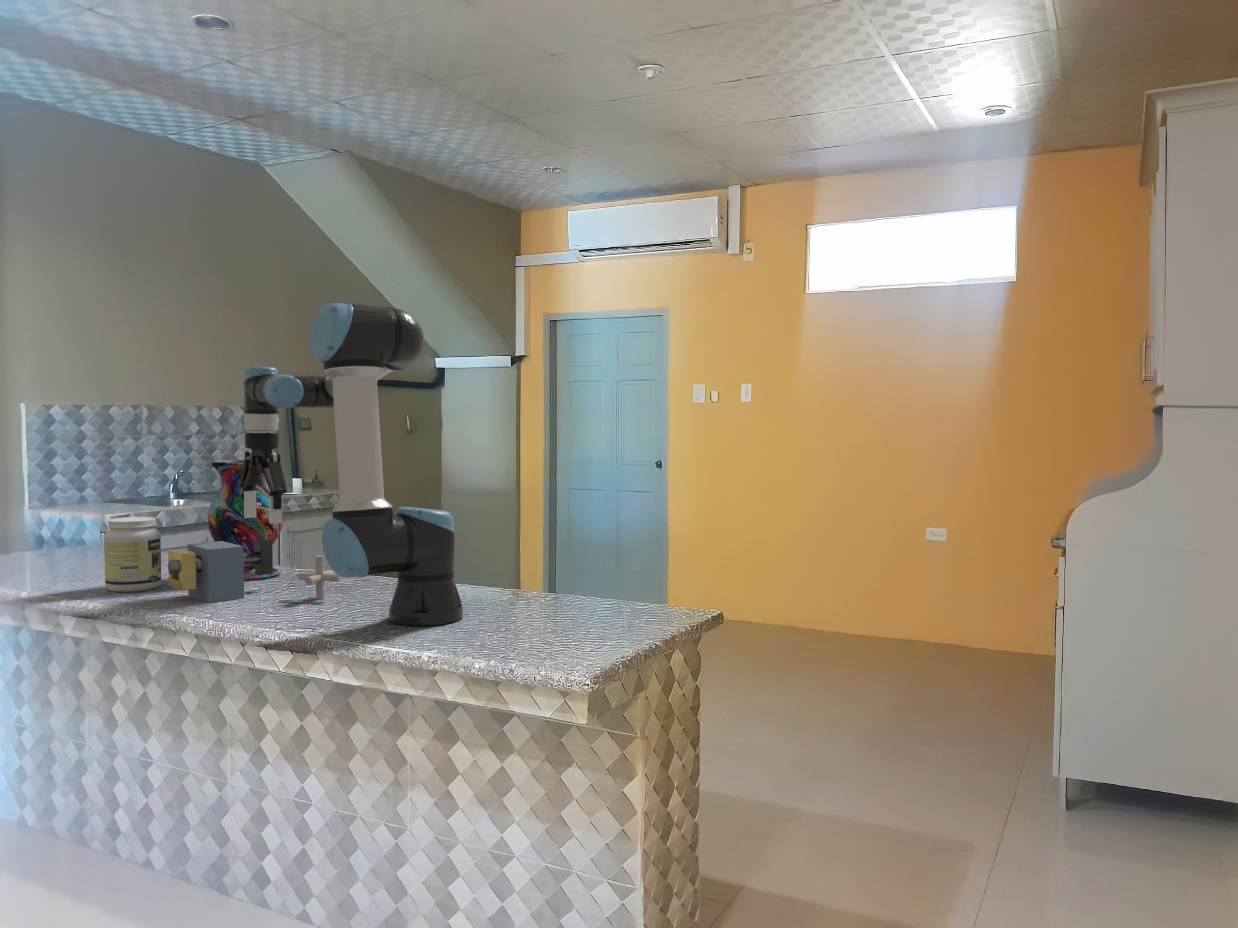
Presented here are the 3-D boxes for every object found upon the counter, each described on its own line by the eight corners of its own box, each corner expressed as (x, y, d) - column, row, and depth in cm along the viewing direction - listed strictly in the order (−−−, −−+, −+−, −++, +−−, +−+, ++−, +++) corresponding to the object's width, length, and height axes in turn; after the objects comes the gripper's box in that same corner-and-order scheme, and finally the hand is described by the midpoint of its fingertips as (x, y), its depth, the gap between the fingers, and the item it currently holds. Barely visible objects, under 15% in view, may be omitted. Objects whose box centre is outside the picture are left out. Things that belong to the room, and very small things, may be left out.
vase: (240, 584, 232) (238, 464, 230) (193, 577, 241) (190, 461, 239) (299, 573, 248) (297, 460, 246) (253, 567, 257) (251, 458, 255)
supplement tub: (159, 591, 223) (158, 520, 222) (101, 594, 219) (99, 522, 218) (163, 582, 234) (162, 515, 233) (108, 585, 230) (107, 517, 229)
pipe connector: (329, 604, 209) (328, 559, 208) (288, 602, 211) (288, 558, 210) (350, 595, 219) (350, 553, 218) (311, 593, 221) (311, 551, 220)
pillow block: (244, 597, 215) (243, 546, 215) (209, 602, 210) (208, 549, 209) (222, 590, 224) (221, 540, 223) (188, 595, 218) (187, 544, 217)
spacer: (196, 588, 210) (195, 552, 209) (182, 589, 207) (181, 554, 207) (182, 583, 215) (181, 548, 215) (168, 585, 213) (168, 550, 213)
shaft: (272, 573, 225) (272, 540, 224) (173, 585, 208) (172, 550, 208) (267, 572, 227) (266, 539, 226) (168, 584, 211) (167, 548, 210)
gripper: (301, 433, 217) (302, 524, 218) (254, 430, 234) (255, 514, 236) (270, 433, 212) (271, 526, 213) (224, 430, 229) (225, 516, 230)
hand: (262, 520), depth 224 cm, fingers open, 13 cm apart
